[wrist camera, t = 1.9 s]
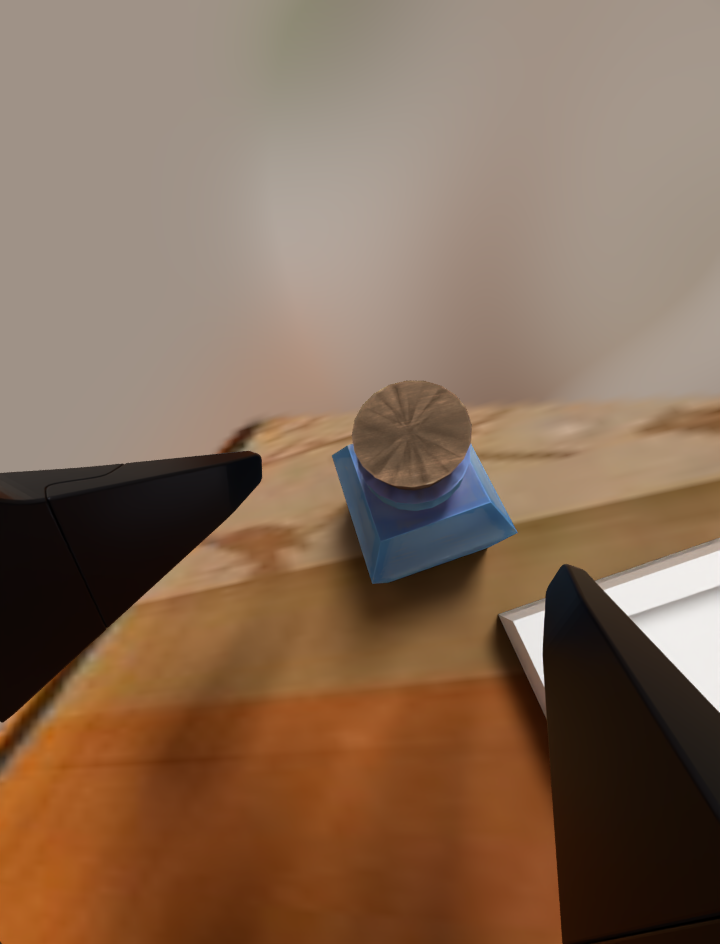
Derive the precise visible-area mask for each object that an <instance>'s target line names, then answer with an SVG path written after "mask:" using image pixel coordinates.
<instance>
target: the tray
mask: <svg viewBox="0 0 720 944" xmlns="http://www.w3.org/2000/svg"><path fill="white" fill-rule="evenodd" d="M595 582H596V583H597V584H598V585H599V586H600V587H601V588H602V589H603V590H604V591H605V592H606V593H607V594H608V596H609V597H610V598H611V599H612V600H613V601H614V602H615V603H616V604H617V605H618V606H619V607H620V608H621V609H622V610H623V611H624V612H625V613H626V614H627V616H628V617H629V618H630V619H631V620H632V621H633V622H634V623H635V624H636V625H637V626H638V627H639V628H640V629H641V630H642V631H643V632H644V633H645V634H646V636H647V637H648V638H649V639H650V640H651V641H652V642H653V643H654V644H655V645H656V646H657V647H658V648H659V649H660V650H661V651H662V652H663V653H664V654H665V656H666V657H667V658H668V659H669V660H670V661H671V662H672V663H673V664H674V665H675V666H676V667H677V668H678V669H679V670H680V671H681V672H682V673H683V674H684V676H685V677H686V678H687V679H688V680H689V681H690V682H691V683H692V684H693V685H694V686H695V687H696V688H697V689H698V690H699V691H700V692H701V693H702V694H703V696H704V697H705V698H706V699H707V700H708V701H709V702H710V703H711V704H712V705H713V706H714V707H715V708H716V709H717V710H718V711H719V712H720V538H718V539H715V540H712V541H709V542H706V543H703V544H700V545H697V546H695V547H692V548H689V549H686V550H683V551H680V552H677V553H674V554H671V555H668V556H666V557H663V558H660V559H657V560H654V561H651V562H648V563H645V564H642V565H640V566H637V567H634V568H631V569H628V570H625V571H622V572H619V573H616V574H613V575H611V576H608V577H605V578H602V579H599V580H596V581H595ZM498 615H499V618H500V620H501V622H502V624H503V626H504V628H505V630H506V633H507V635H508V637H509V639H510V641H511V643H512V646H513V648H514V650H515V652H516V654H517V656H518V659H519V661H520V663H521V665H522V667H523V669H524V672H525V674H526V676H527V678H528V680H529V682H530V685H531V687H532V689H533V691H534V693H535V695H536V698H537V700H538V702H539V704H540V706H541V708H542V711H543V713H544V715H545V717H546V719H547V715H546V701H545V687H544V672H543V654H542V652H543V631H544V615H545V598H544V599H541V600H538V601H535V602H532V603H530V604H527V605H524V606H521V607H518V608H515V609H512V610H509V611H506V612H503V613H501V614H498Z"/></svg>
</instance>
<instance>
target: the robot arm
mask: <svg viewBox="0 0 720 944" xmlns="http://www.w3.org/2000/svg"><path fill="white" fill-rule="evenodd" d="M261 479H262V459H261V456H260V455H259V454H257V453H254V452H251V451H242V452H232V453H222V454H212V455H203V456H193V457H183V458H174V459H163V460H154V461H144V462H134V463H126V464H115V465H104V466H94V467H83V468H82V467H81V468H68V469H55V470H40V471H24V472H9V473H0V722H4V721H6V720H7V719H8V718H10V717H11V716H12V715H13V714H14V713H16V712H17V711H18V710H19V709H20V708H21V707H22V706H23V705H24V704H25V703H27V702H28V701H29V700H30V699H31V698H32V697H33V696H34V695H35V694H36V693H37V692H39V691H40V690H41V689H42V688H43V687H44V686H45V685H46V684H47V683H48V682H50V681H51V680H52V679H53V678H54V677H55V676H56V675H57V674H58V673H59V672H60V671H62V670H63V669H64V668H65V667H66V666H67V665H68V664H69V663H70V662H71V661H72V660H74V659H75V658H76V657H77V656H78V655H79V654H80V653H81V652H82V651H83V650H84V649H86V648H87V647H88V646H89V645H90V644H91V643H92V642H93V641H94V640H95V639H96V638H98V637H99V636H100V635H101V634H102V633H103V632H104V631H105V630H106V628H108V627H109V626H110V625H111V624H112V623H114V622H115V621H116V620H117V619H118V618H119V617H120V616H121V615H122V614H123V613H125V612H126V611H127V610H128V609H129V608H130V607H131V606H132V605H133V604H134V603H135V602H137V601H138V600H139V599H140V598H141V597H142V596H143V595H144V594H145V593H146V592H147V591H149V590H150V589H151V588H152V587H153V586H154V585H155V584H156V583H157V582H158V581H160V580H161V579H162V578H163V577H164V576H165V575H166V574H167V573H168V572H169V571H170V570H172V569H173V568H174V567H175V566H176V565H177V564H178V563H179V562H180V561H181V560H182V559H184V558H185V557H186V556H187V555H188V554H189V553H190V552H191V551H192V550H193V549H194V548H196V547H197V546H198V545H199V544H200V543H201V542H202V541H203V540H204V539H205V538H207V537H208V536H209V535H210V534H211V533H212V532H213V531H214V530H215V529H216V528H217V527H219V526H220V525H221V524H222V523H223V522H224V521H225V520H226V519H227V518H228V517H229V516H230V515H231V514H232V513H233V512H234V511H235V510H236V509H237V508H238V507H239V506H240V505H241V503H242V502H243V501H244V500H245V499H246V498H247V497H248V496H249V495H250V493H251V492H252V491H253V490H254V489H255V488H256V487H257V486H258V484H259V483H260V482H261ZM542 654H543V672H544V687H545V701H546V715H547V730H548V744H549V758H550V773H551V787H552V801H553V815H554V830H555V844H556V858H557V873H558V887H559V901H560V916H561V930H562V943H563V944H720V712H719V711H718V710H717V709H716V708H715V707H714V706H713V705H712V704H711V703H710V702H709V701H708V700H707V699H706V698H705V697H704V696H703V694H702V693H701V692H700V691H699V690H698V689H697V688H696V687H695V686H694V685H693V684H692V683H691V682H690V681H689V680H688V679H687V678H686V677H685V676H684V674H683V673H682V672H681V671H680V670H679V669H678V668H677V667H676V666H675V665H674V664H673V663H672V662H671V661H670V660H669V659H668V658H667V657H666V656H665V654H664V653H663V652H662V651H661V650H660V649H659V648H658V647H657V646H656V645H655V644H654V643H653V642H652V641H651V640H650V639H649V638H648V637H647V636H646V634H645V633H644V632H643V631H642V630H641V629H640V628H639V627H638V626H637V625H636V624H635V623H634V622H633V621H632V620H631V619H630V618H629V617H628V616H627V614H626V613H625V612H624V611H623V610H622V609H621V608H620V607H619V606H618V605H617V604H616V603H615V602H614V601H613V600H612V599H611V598H610V597H609V596H608V594H607V593H606V592H605V591H604V590H603V589H602V588H601V587H600V586H599V585H598V584H597V583H596V582H595V581H594V580H593V579H592V578H591V577H590V576H589V575H588V573H587V572H586V571H584V570H583V569H580V568H577V567H574V566H571V565H569V564H564V565H562V566H561V567H560V569H559V570H558V572H557V573H556V575H555V577H554V578H553V580H552V581H551V583H550V584H549V586H548V588H547V591H546V598H545V615H544V631H543V652H542ZM0 944H1V942H0Z"/></svg>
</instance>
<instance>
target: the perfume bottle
mask: <svg viewBox="0 0 720 944" xmlns="http://www.w3.org/2000/svg"><path fill="white" fill-rule="evenodd" d="M471 431H472V424H471V421H470V418H469V415H468V412H467V409H466V407H465V406H464V405H463V404H462V402H461V401H460V400H459V399H458V397H457V396H456V395H455V394H453V393H452V392H450V391H448V390H447V389H445V388H444V387H442V386H440V385H437V384H433V383H430V382H426V381H403V382H399V383H395V384H391V385H388V386H387V387H385V388H383V389H381V390H380V391H378V392H376V393H374V394H373V395H372V396H371V397H370V398H369V399H368V400H367V401H366V402H365V403H364V404H363V405H362V407H361V409H360V411H359V413H358V414H357V416H356V418H355V420H354V426H353V432H352V440H353V444H350V445H348V446H346V447H345V448H343V449H341V450H340V451H338V452H337V453H335V454H334V455H332V458H333V461H334V464H335V467H336V470H337V473H338V477H339V480H340V483H341V486H342V489H343V492H344V496H345V499H346V502H347V505H348V508H349V511H350V515H351V518H352V521H353V524H354V527H355V530H356V534H357V537H358V540H359V543H360V546H361V550H362V553H363V556H364V559H365V562H366V565H367V569H368V572H369V575H370V578H371V581H372V584H376V583H389V582H392V581H395V580H397V579H400V578H403V577H406V576H409V575H412V574H415V573H417V572H420V571H423V570H426V569H429V568H432V567H435V566H437V565H440V564H443V563H446V562H449V561H452V560H455V559H457V558H460V557H463V556H466V555H469V554H472V553H474V552H477V551H480V550H483V549H486V548H488V547H490V546H492V545H494V544H496V543H498V542H500V541H502V540H504V539H506V538H508V537H510V536H512V535H514V534H516V533H518V532H517V531H516V529H515V527H514V525H513V523H512V521H511V519H510V517H509V515H508V513H507V512H506V510H505V508H504V506H503V504H502V502H501V500H500V498H499V496H498V494H497V493H496V491H495V489H494V487H493V485H492V483H491V481H490V479H489V477H488V475H487V474H486V472H485V470H484V468H483V466H482V464H481V462H480V460H479V458H478V456H477V455H476V453H475V451H474V449H473V447H472V445H471Z"/></svg>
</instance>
